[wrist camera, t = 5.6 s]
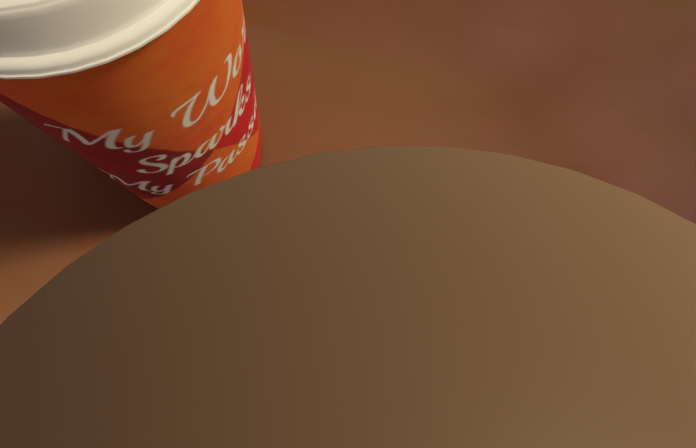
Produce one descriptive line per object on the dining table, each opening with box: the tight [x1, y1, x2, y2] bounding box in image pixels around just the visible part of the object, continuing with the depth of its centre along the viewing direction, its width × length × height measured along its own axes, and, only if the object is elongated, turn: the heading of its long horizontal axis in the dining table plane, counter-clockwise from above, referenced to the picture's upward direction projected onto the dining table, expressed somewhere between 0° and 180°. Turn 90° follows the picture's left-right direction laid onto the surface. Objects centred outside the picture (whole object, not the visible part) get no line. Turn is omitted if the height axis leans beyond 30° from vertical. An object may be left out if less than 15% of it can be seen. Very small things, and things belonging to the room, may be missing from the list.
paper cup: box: [0, 0, 261, 209], centre depth 16 cm, size 8×8×14 cm
